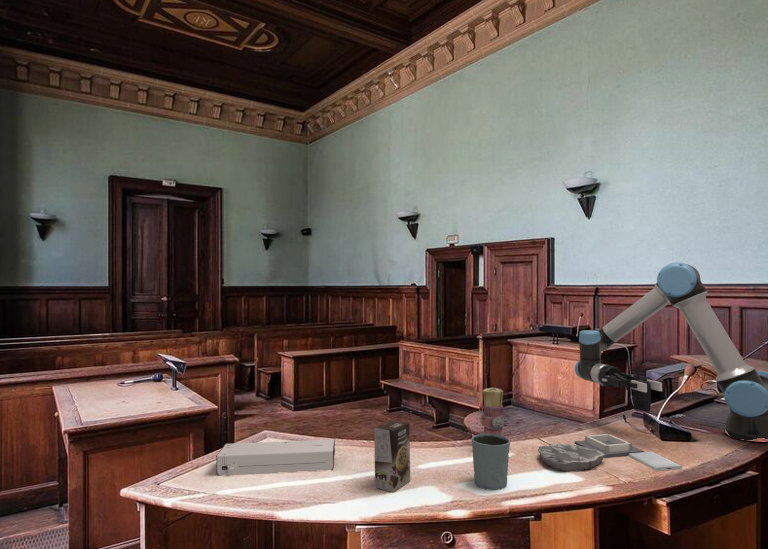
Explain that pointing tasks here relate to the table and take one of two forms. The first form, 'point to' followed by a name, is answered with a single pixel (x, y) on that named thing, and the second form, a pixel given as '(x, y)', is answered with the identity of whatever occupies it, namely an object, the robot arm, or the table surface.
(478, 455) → the grey cup
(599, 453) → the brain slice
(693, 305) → the robot arm
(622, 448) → the charging cradle
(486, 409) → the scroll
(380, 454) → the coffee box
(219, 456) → the laminator
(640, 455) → the hard drive
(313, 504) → the table surface
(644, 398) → the two-way radio
